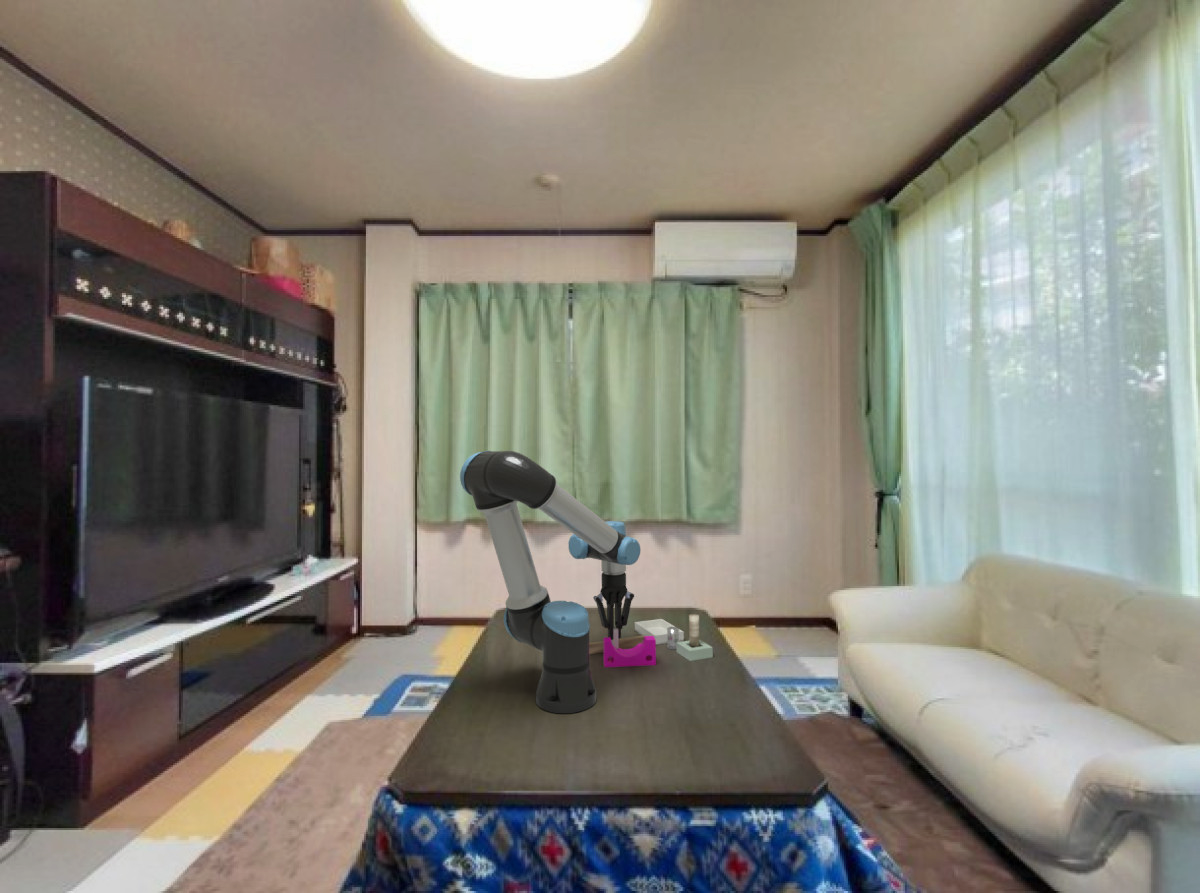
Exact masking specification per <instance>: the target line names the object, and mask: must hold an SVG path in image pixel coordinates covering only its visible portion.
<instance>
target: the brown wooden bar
mask: <svg viewBox="0 0 1200 893" xmlns="http://www.w3.org/2000/svg"><path fill="white" fill-rule="evenodd" d="M644 636H646V635H642V636H641V635H637V636H630V637H629V636H628V637H621V638H620V639H618V643H619V648H621V649H631V648H633V647H635V646H637V645H638V644H640V643H643V640H644ZM601 653H604V643H603V640H600V641H593V642H589V655H595V654H601Z"/></svg>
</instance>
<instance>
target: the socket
mask: <svg viewBox="0 0 1200 893" xmlns="http://www.w3.org/2000/svg"><path fill="white" fill-rule="evenodd" d="M676 644H677V649H676V653H677V654H679V655H680V656H681V657H683V658H685V659H686V660H687V661H689V662H692V661H698V660H704V659H711V658H713V657H714V653H713V652H714V649H713V646H711V645H709V643H707V642H705V641H703V640H701V639H699V647H694V648H691V647H690V646H689V640H684V641H680V642H676Z"/></svg>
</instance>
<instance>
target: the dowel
mask: <svg viewBox="0 0 1200 893" xmlns="http://www.w3.org/2000/svg"><path fill="white" fill-rule="evenodd" d="M688 629H689V631H688V632H689V634H688V635H689V636H688V637H689V638H688V641H689V646H690V647H691V648H694V647H699V640H700V615H699V614H697V613H691V614H689V615H688Z"/></svg>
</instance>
